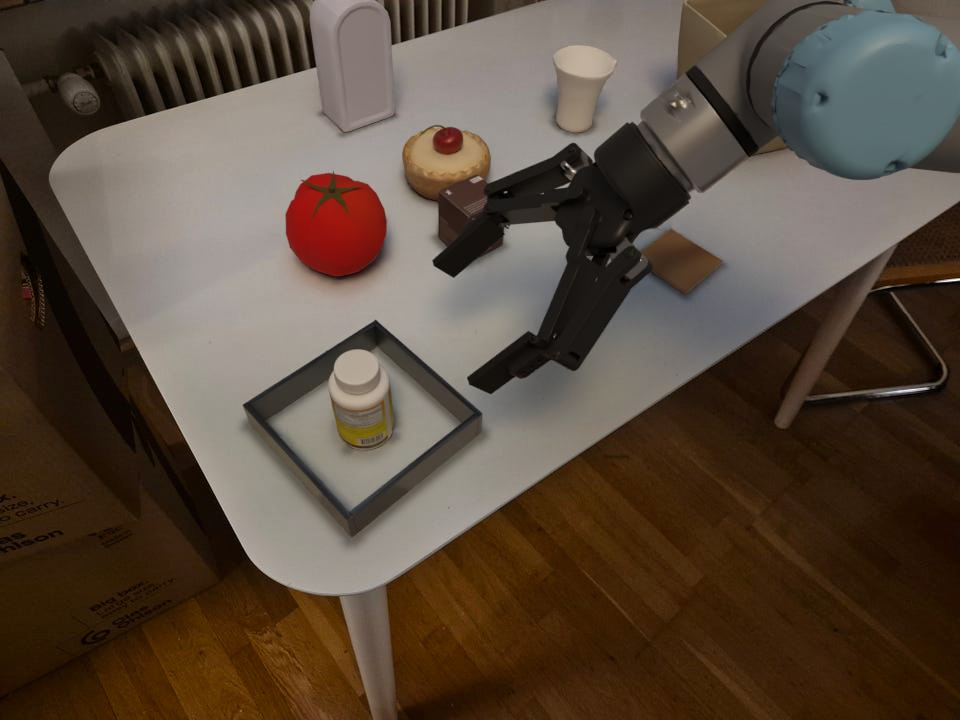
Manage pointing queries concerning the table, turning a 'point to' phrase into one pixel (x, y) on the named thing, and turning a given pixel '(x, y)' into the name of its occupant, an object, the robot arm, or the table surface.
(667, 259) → the coaster
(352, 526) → the dark grey square frame
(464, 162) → the pastry
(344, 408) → the supplement bottle
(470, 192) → the box
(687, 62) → the flower pot
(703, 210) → the table surface
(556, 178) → the robot arm
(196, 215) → the table surface
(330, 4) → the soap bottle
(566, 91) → the cup
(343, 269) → the tomato
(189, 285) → the table surface
